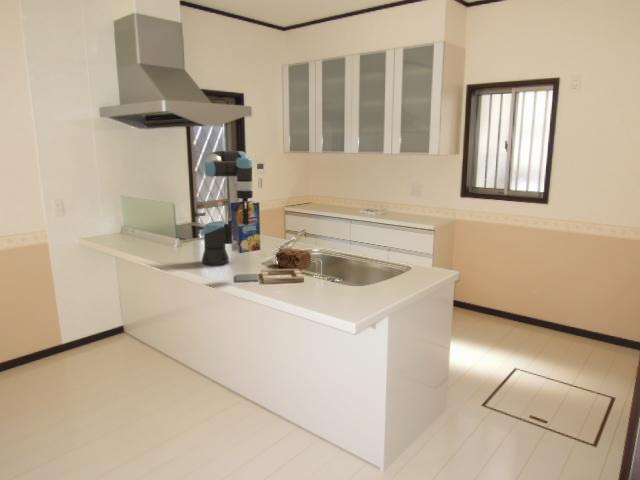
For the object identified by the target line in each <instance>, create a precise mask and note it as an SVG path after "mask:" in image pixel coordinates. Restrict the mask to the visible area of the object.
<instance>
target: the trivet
mask: <svg viewBox="0 0 640 480" xmlns="http://www.w3.org/2000/svg"><path fill="white" fill-rule="evenodd" d="M234 279H235V283H248V282H249V281H253V282H259V278H258V274H257V273H244V274H243V273H242V274H241V273H239V274H235V275H234ZM249 283H250V282H249Z"/></svg>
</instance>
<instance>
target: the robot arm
mask: <svg viewBox="0 0 640 480" xmlns="http://www.w3.org/2000/svg"><path fill="white" fill-rule="evenodd" d="M252 160H253V159H252V158H250V157H247V154H246V152H245V151H239V150H216V151H212V152H210V153H208V154H206V155H205V157H204V160H203V163H204V164H203V165H204V175H205V177H210V178H211V177H212V178H213V177H214V178H215V177H228V188H229V189H228V190H229V191H228V192H229V208H230V215H231V203H235V202H241V203H243V224H244V225H248V224H249V222H248V203H249V201H250V200H249V201H248V199H252V198H254V197H253V196H254V195H253V161H252ZM227 221H228V222H227V223H226V222H225V220H224V221H223V220H219V221H212V222H208V223H206V224H205V225H204V226H203V240H204V242H203V243H204V246H203V247H204V252H203V254H202V258H201V264H202V265H205V266H221V265H222V266H223V265H227V264H229V263H230V261H229V260H230V258H229V255H228V253H227V250H226V245H232V229H231V217H230V218H229V219H228V220H227Z"/></svg>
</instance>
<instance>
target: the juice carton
mask: <svg viewBox="0 0 640 480" xmlns="http://www.w3.org/2000/svg"><path fill="white" fill-rule="evenodd" d="M260 214H261V213H260V202H259V201H252V200H249V203H248V222H249V224H248V225H244V224H243V203H241V202H235V203H231V214H230V218H231V229H232V244H231V248H232V249H231V251H232V252H234V253H235V252H236V253H238V254H243V253H250V252H256V251H257V252H258V251H260V250H261V221H260V220H261V219H260Z"/></svg>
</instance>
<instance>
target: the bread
mask: <svg viewBox="0 0 640 480" xmlns="http://www.w3.org/2000/svg"><path fill="white" fill-rule="evenodd" d="M276 253H277V254H276ZM276 253H275V255H276V257H277V261H278V265H277V266H278V267H279V266H280V267H283V268H285V269H299V270H300V271H302V270H305V269H309V268H310V266H311V263H312V262H311V260H312V259H311V258H312V257H311V253H310V252H309V251H307V250H304V249H300V248H299V249H298V248H290V247H289V248H285V247H284V248H281V249H279V250H278V251H277V252H276ZM276 257H275V258H276Z"/></svg>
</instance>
